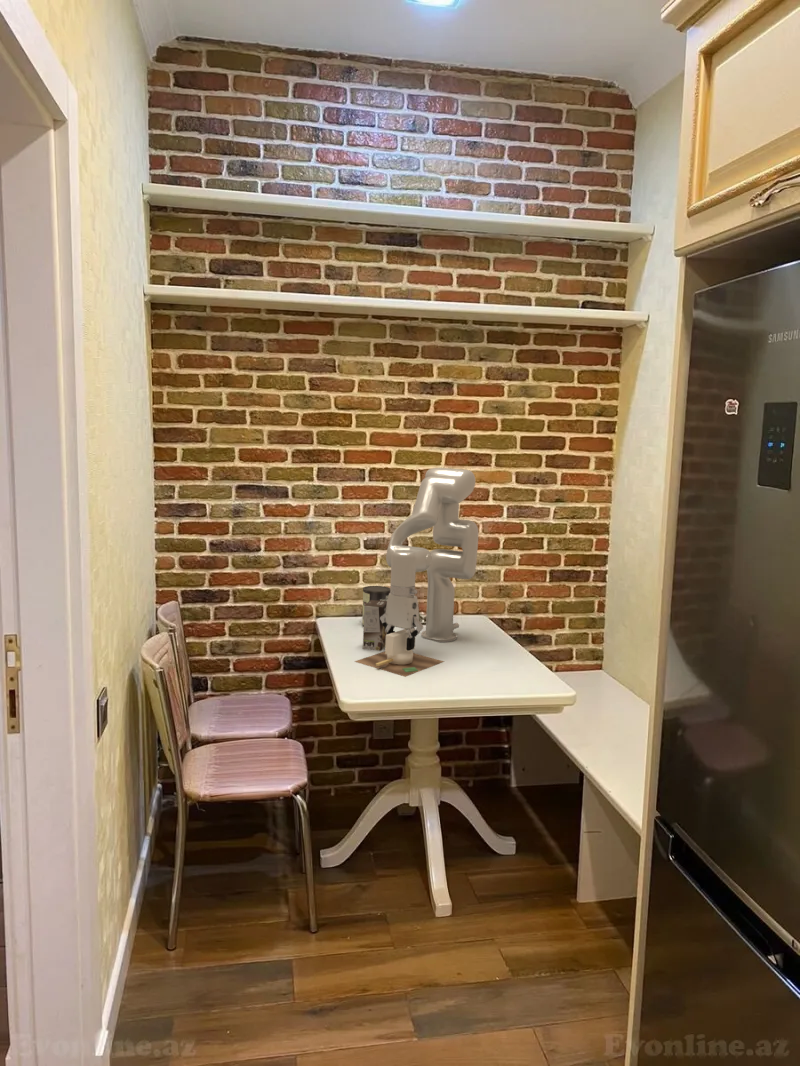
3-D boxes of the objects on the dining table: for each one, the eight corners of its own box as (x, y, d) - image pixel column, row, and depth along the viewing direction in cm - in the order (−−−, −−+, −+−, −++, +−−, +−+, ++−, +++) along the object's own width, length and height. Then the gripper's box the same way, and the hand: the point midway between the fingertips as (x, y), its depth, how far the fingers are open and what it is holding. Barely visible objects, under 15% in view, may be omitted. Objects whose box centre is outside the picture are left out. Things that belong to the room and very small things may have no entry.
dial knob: (400, 653, 241) (401, 626, 239) (420, 659, 236) (422, 631, 234) (366, 665, 228) (367, 636, 227) (387, 671, 223) (388, 642, 222)
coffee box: (381, 655, 244) (383, 606, 242) (362, 653, 246) (363, 605, 243) (387, 647, 253) (389, 600, 251) (368, 645, 254) (370, 599, 252)
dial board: (394, 652, 248) (394, 647, 248) (444, 666, 236) (444, 660, 236) (354, 666, 233) (354, 660, 232) (405, 681, 220) (405, 676, 220)
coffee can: (394, 625, 282) (396, 588, 280) (379, 630, 273) (380, 592, 271) (372, 620, 287) (373, 584, 285) (356, 625, 279) (357, 588, 277)
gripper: (432, 593, 228) (430, 650, 231) (388, 584, 239) (386, 638, 242) (417, 597, 223) (415, 655, 225) (372, 587, 233) (371, 643, 236)
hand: (400, 646), depth 233 cm, fingers open, 7 cm apart
